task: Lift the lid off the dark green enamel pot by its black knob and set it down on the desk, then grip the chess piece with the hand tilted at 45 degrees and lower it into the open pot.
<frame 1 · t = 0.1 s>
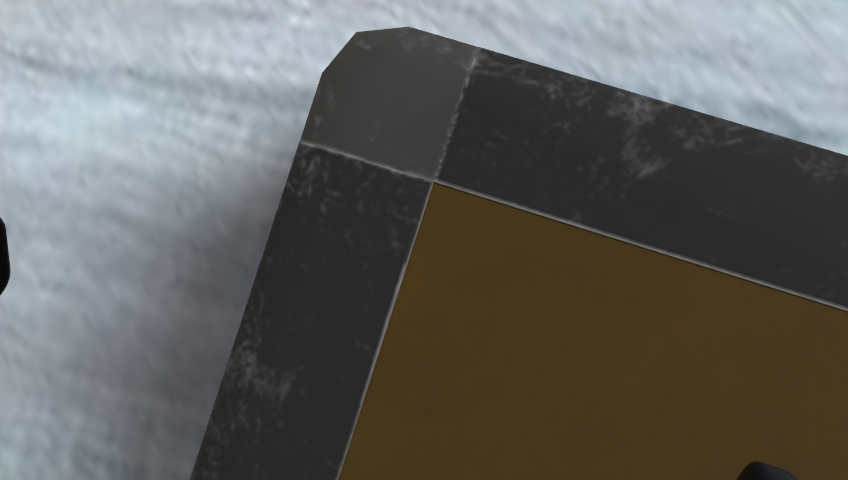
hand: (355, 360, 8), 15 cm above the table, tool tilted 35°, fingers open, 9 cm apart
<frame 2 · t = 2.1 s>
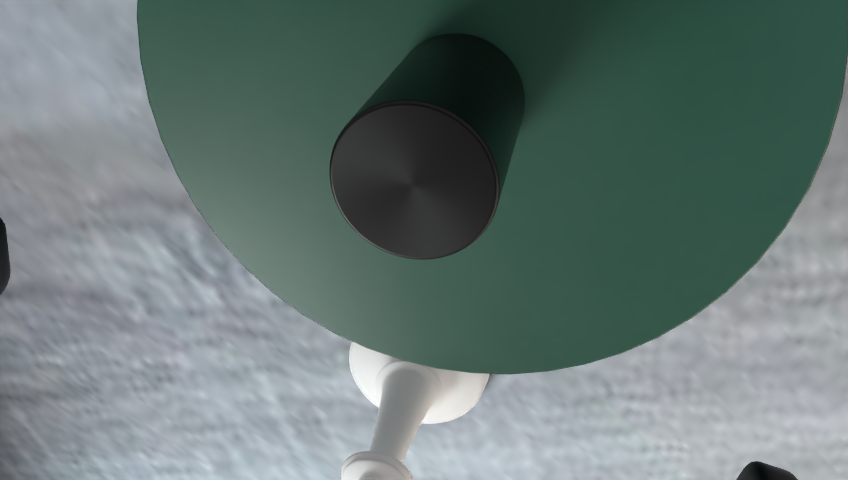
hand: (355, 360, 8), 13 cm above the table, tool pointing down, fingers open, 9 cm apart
lid: (462, 91, 15), point 5 cm above the table, touching pot
chess piece: (421, 354, 25), on the table
when the fingers open (2 cm above the table, at t = 9.7 s): lid stays where it is, point 1 cm above the table.
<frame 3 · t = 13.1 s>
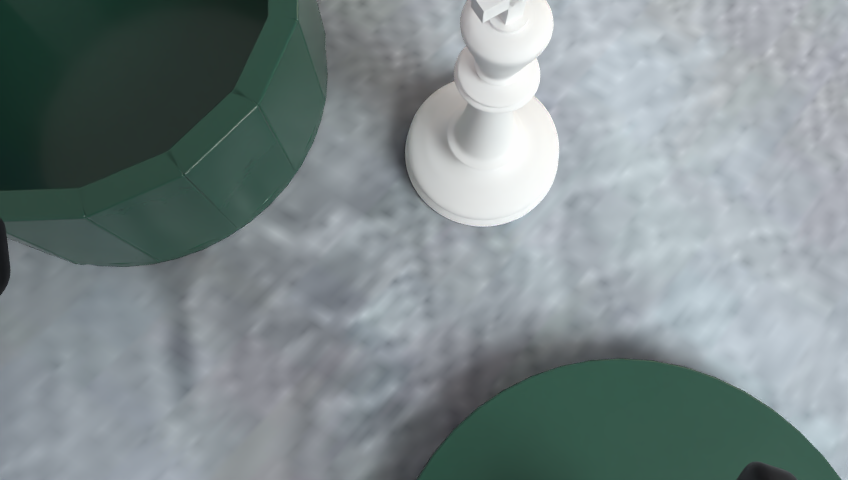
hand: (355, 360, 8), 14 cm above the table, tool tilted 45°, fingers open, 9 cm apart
chess piece: (481, 155, 24), on the table
pot: (138, 81, 24), on the table
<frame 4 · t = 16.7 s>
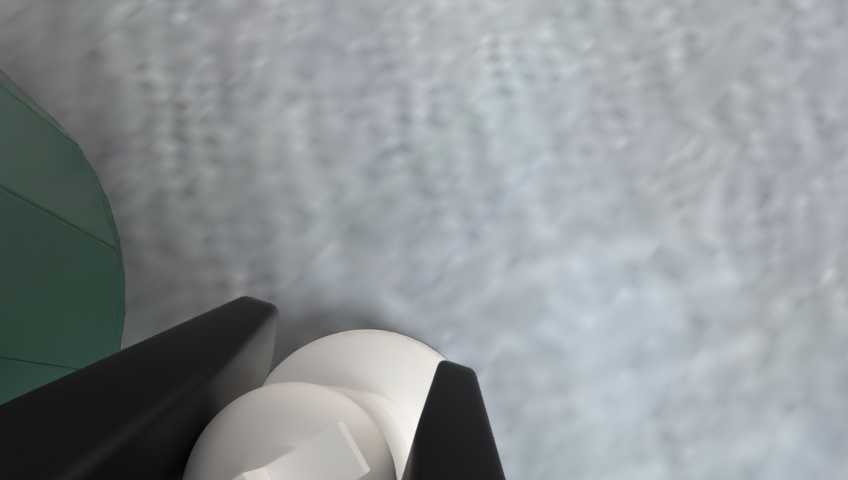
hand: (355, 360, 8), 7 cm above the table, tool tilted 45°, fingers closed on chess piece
chess piece: (365, 453, 15), on the table, touching gripper
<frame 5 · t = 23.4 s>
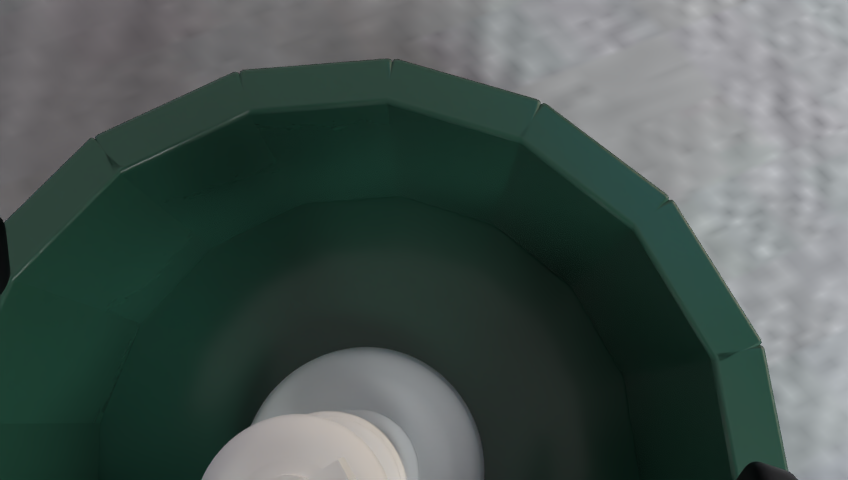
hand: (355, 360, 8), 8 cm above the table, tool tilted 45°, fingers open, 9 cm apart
chess piece: (364, 467, 15), resting on pot
pot: (368, 453, 15), on the table
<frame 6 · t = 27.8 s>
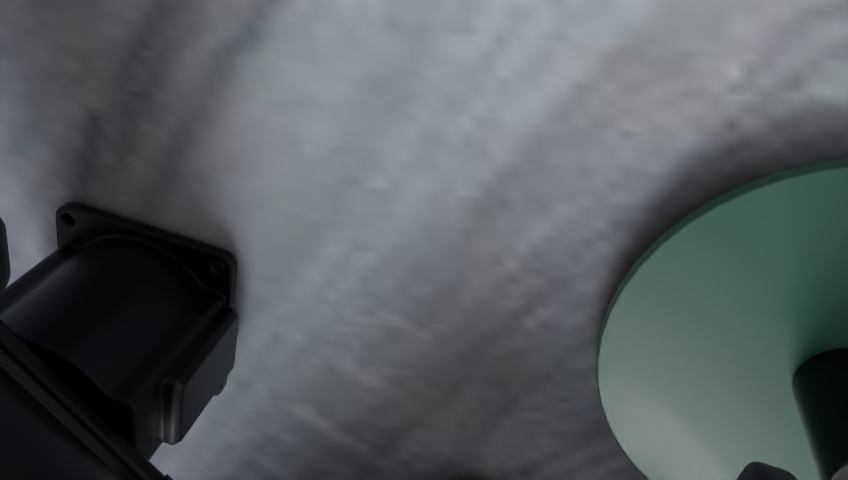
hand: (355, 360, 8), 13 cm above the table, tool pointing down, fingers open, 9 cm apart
lid: (836, 372, 21), point 1 cm above the table
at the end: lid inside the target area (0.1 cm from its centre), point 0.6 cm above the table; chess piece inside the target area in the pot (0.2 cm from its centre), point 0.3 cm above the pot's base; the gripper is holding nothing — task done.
